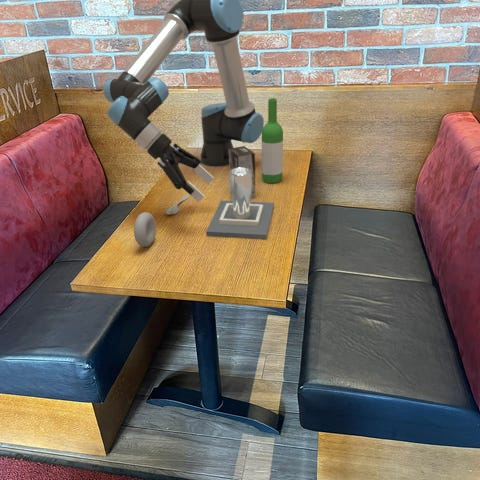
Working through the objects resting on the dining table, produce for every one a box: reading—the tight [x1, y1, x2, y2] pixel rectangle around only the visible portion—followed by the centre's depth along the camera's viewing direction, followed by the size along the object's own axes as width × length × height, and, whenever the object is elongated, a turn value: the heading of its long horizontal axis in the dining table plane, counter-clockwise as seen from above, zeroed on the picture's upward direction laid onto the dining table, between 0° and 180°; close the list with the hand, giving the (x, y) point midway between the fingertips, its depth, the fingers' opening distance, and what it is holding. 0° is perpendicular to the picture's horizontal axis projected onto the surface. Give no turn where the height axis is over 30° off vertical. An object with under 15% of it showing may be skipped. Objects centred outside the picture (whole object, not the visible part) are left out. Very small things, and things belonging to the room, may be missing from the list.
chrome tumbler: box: [228, 167, 252, 220], centre depth 139 cm, size 7×7×15 cm
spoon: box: [165, 194, 190, 215], centre depth 155 cm, size 4×21×2 cm, turn 164°
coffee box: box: [228, 145, 256, 199], centre depth 157 cm, size 9×6×16 cm
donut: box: [133, 211, 157, 248], centre depth 129 cm, size 10×3×10 cm, turn 167°
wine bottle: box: [261, 98, 284, 184], centre depth 164 cm, size 8×8×30 cm
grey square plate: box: [205, 199, 275, 240], centre depth 142 cm, size 22×18×3 cm
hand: (206, 189), depth 140 cm, fingers open, 13 cm apart
